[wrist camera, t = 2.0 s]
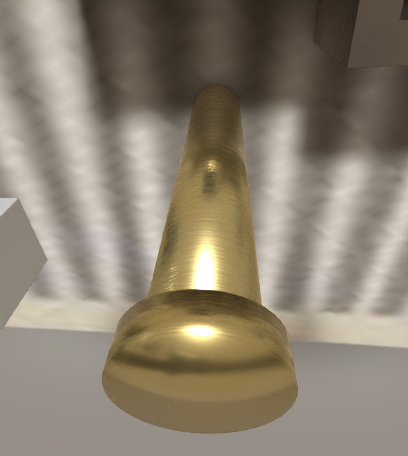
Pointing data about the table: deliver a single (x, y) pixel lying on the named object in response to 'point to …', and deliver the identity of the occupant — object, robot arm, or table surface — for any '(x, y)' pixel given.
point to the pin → (204, 300)
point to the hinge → (363, 32)
